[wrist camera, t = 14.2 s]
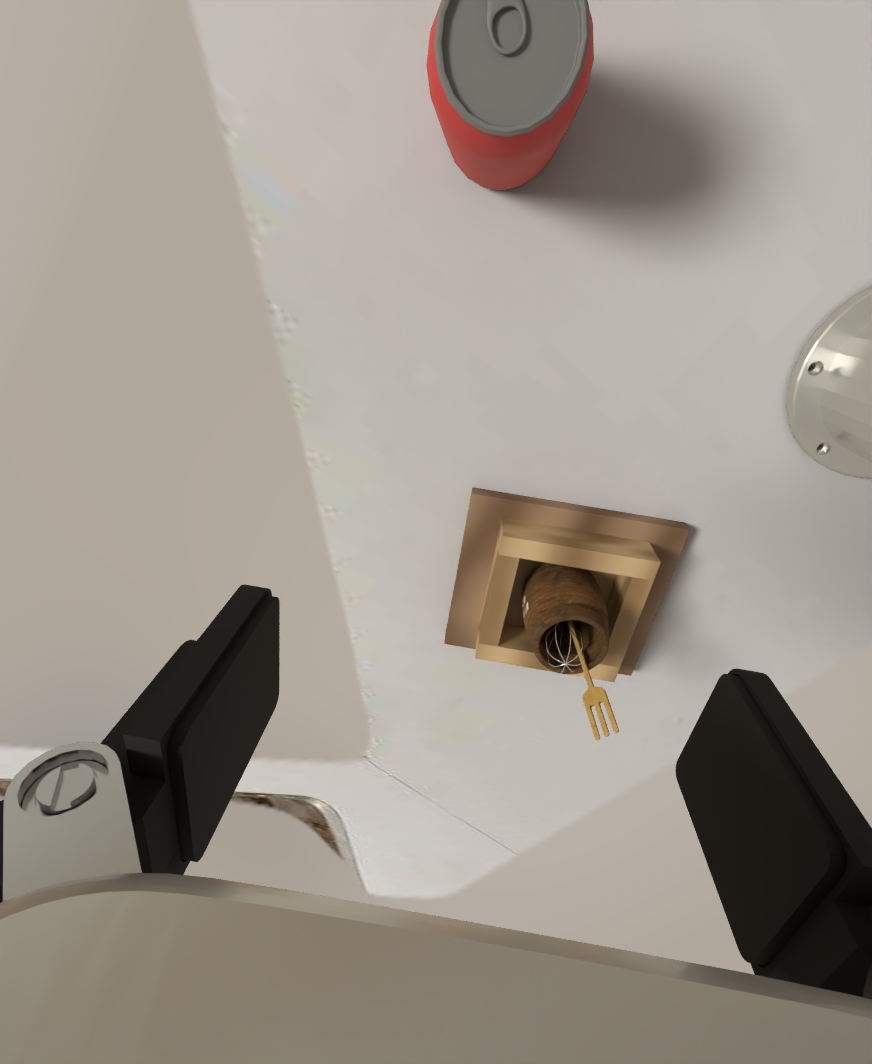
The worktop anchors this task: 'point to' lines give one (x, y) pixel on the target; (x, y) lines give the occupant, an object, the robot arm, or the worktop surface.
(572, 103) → the beer can
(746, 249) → the worktop surface
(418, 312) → the worktop surface
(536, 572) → the utensil holder
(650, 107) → the worktop surface
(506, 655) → the socket board
